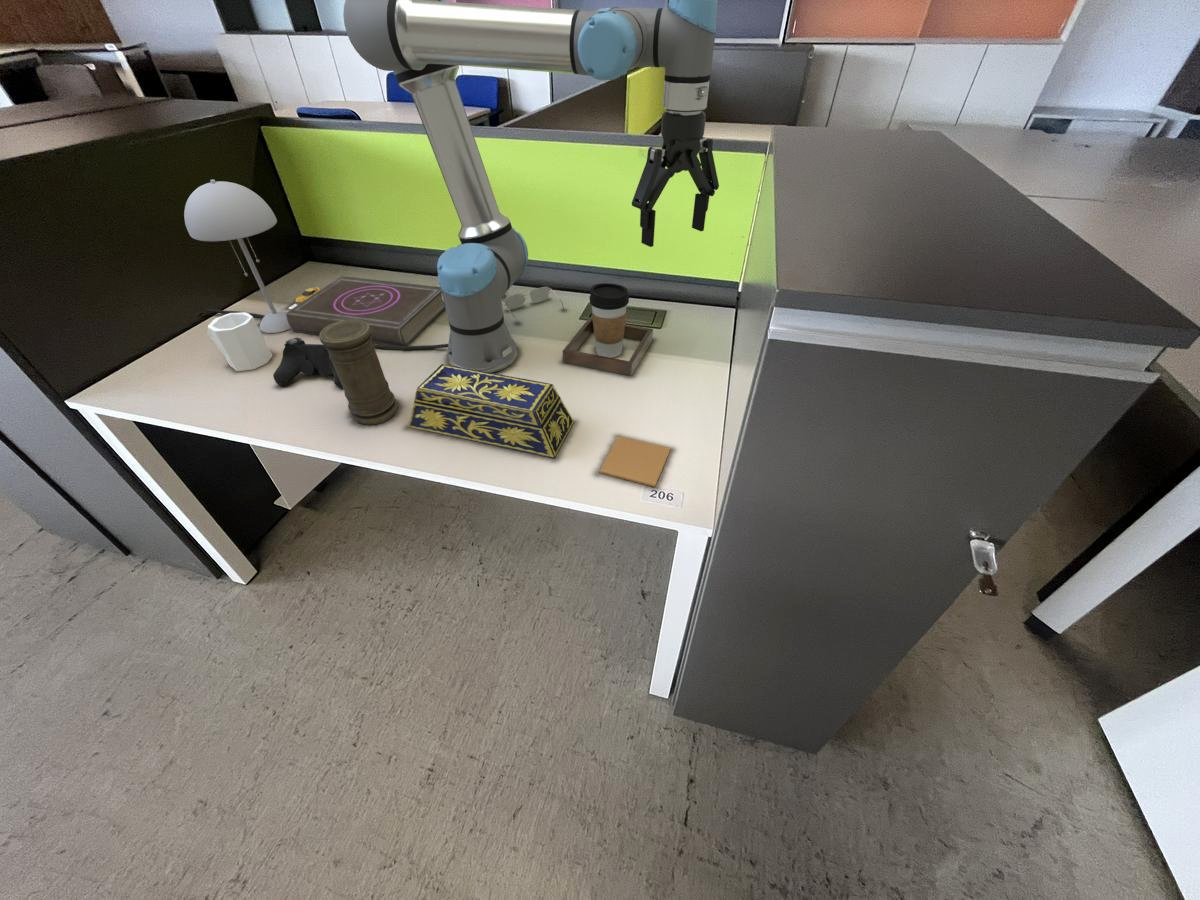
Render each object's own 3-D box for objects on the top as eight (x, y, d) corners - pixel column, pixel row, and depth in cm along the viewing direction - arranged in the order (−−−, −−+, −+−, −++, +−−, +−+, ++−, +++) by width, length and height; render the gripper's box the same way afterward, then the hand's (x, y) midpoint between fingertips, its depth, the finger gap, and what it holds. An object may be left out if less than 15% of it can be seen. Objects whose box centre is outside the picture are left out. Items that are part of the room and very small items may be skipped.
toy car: (292, 305, 137) (289, 297, 135) (314, 291, 143) (311, 283, 141) (305, 307, 136) (302, 299, 134) (327, 293, 142) (323, 285, 140)
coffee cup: (589, 342, 122) (587, 281, 112) (625, 340, 122) (626, 279, 112) (592, 361, 116) (590, 298, 106) (629, 359, 116) (631, 297, 106)
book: (448, 305, 137) (444, 287, 133) (404, 348, 121) (398, 329, 117) (347, 293, 143) (341, 275, 139) (292, 332, 127) (283, 314, 123)
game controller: (364, 384, 115) (360, 338, 112) (347, 388, 108) (342, 339, 105) (292, 382, 115) (287, 336, 113) (272, 386, 109) (265, 337, 106)
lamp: (279, 346, 122) (207, 195, 100) (225, 334, 126) (144, 187, 104) (331, 313, 134) (276, 172, 112) (279, 303, 138) (217, 166, 116)
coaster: (599, 473, 90) (599, 470, 89) (618, 437, 97) (618, 435, 96) (654, 487, 87) (655, 485, 87) (670, 449, 94) (670, 447, 94)
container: (384, 427, 99) (353, 345, 87) (342, 422, 101) (306, 340, 89) (406, 400, 106) (380, 319, 94) (366, 395, 107) (335, 315, 95)
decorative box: (554, 458, 92) (551, 419, 86) (408, 427, 99) (396, 388, 93) (575, 422, 100) (573, 383, 94) (438, 395, 107) (428, 357, 101)
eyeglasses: (551, 298, 139) (550, 284, 136) (565, 312, 134) (565, 298, 132) (503, 311, 134) (501, 297, 131) (516, 327, 129) (515, 312, 126)
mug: (280, 353, 120) (261, 314, 113) (252, 373, 113) (230, 333, 107) (237, 346, 122) (216, 308, 115) (208, 366, 116) (183, 326, 109)
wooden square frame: (563, 362, 116) (562, 350, 114) (589, 328, 127) (589, 317, 125) (631, 376, 111) (631, 364, 109) (652, 340, 123) (653, 328, 121)
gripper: (643, 123, 81) (637, 257, 96) (750, 105, 92) (730, 228, 107) (613, 116, 86) (612, 245, 100) (718, 100, 97) (704, 218, 111)
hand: (673, 236), depth 103 cm, fingers open, 13 cm apart
